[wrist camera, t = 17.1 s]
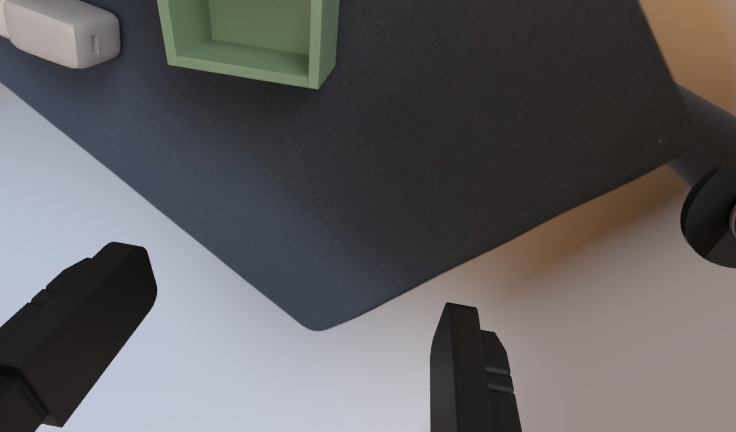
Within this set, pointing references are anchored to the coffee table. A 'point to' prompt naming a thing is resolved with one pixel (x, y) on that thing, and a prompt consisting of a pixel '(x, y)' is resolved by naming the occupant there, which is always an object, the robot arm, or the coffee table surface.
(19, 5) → the power adapter
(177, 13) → the bin
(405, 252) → the coffee table surface
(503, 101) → the coffee table surface
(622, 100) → the coffee table surface
